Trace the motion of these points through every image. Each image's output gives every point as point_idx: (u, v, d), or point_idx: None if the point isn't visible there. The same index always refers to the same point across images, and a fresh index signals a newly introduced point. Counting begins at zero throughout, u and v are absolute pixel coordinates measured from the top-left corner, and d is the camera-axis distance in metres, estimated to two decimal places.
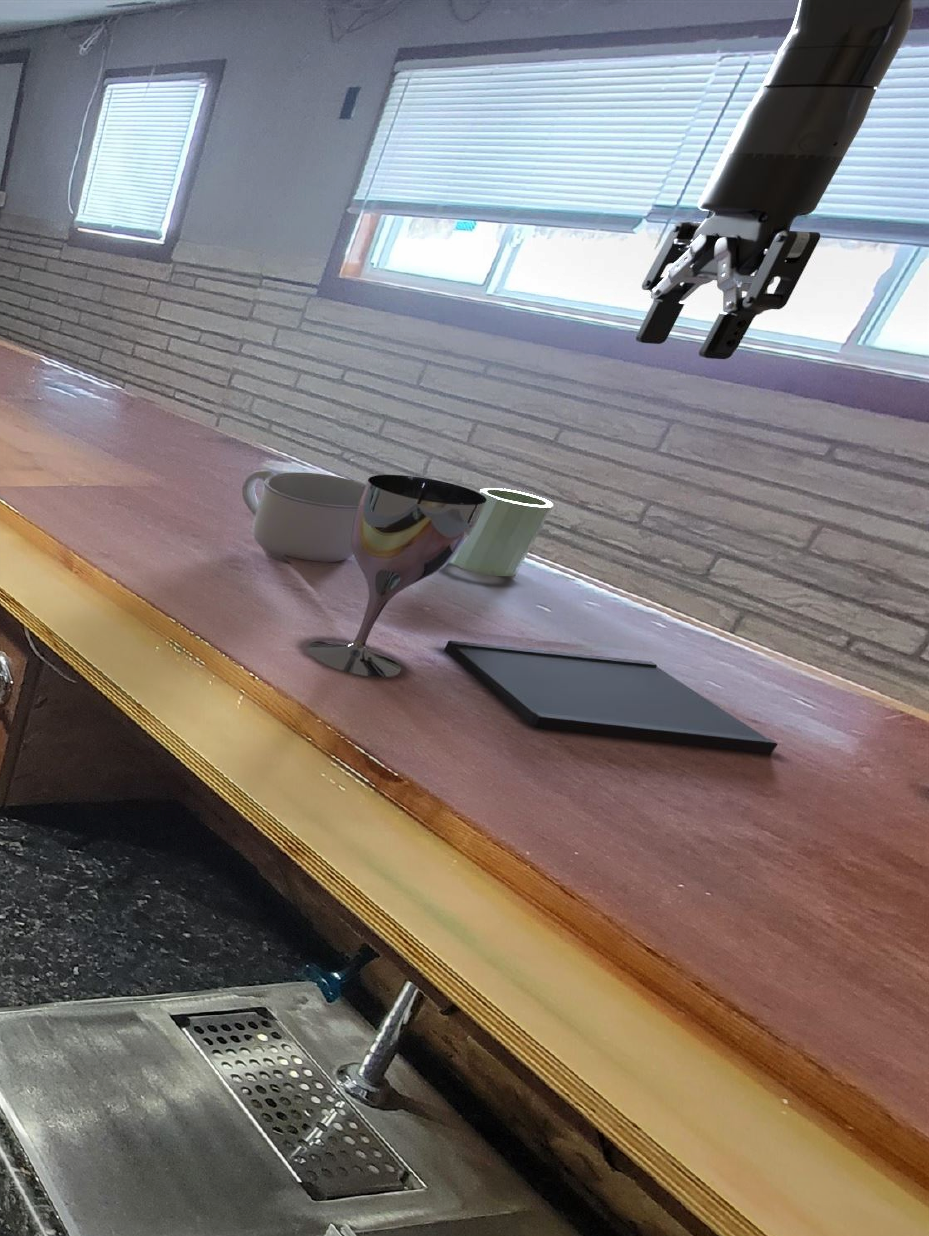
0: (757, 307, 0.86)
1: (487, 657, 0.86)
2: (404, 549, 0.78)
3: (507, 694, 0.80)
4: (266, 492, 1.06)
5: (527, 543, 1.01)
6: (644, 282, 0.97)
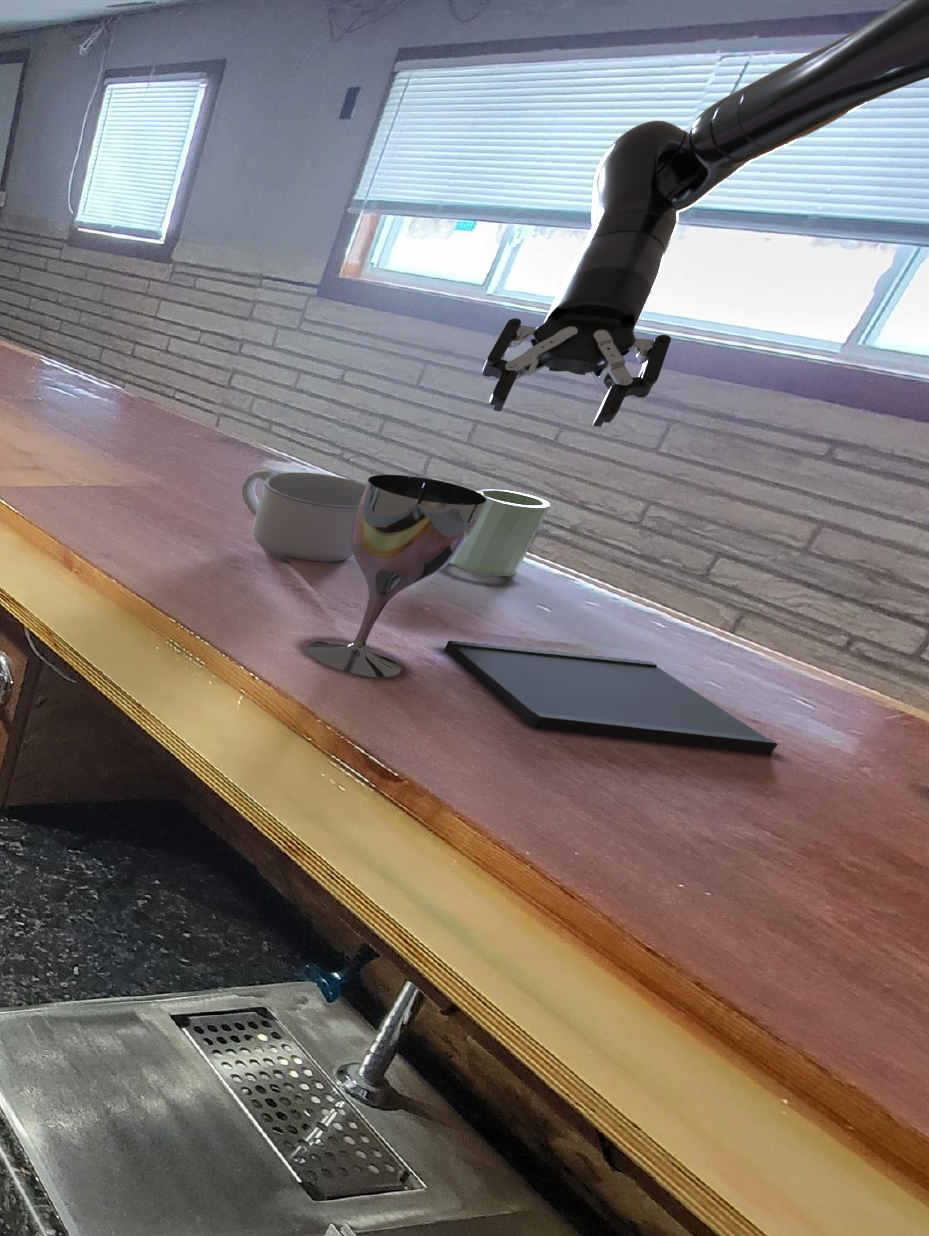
0: (485, 371, 1.11)
1: (487, 657, 0.86)
2: (404, 549, 0.78)
3: (507, 694, 0.80)
4: (266, 492, 1.06)
5: (525, 544, 1.01)
6: None
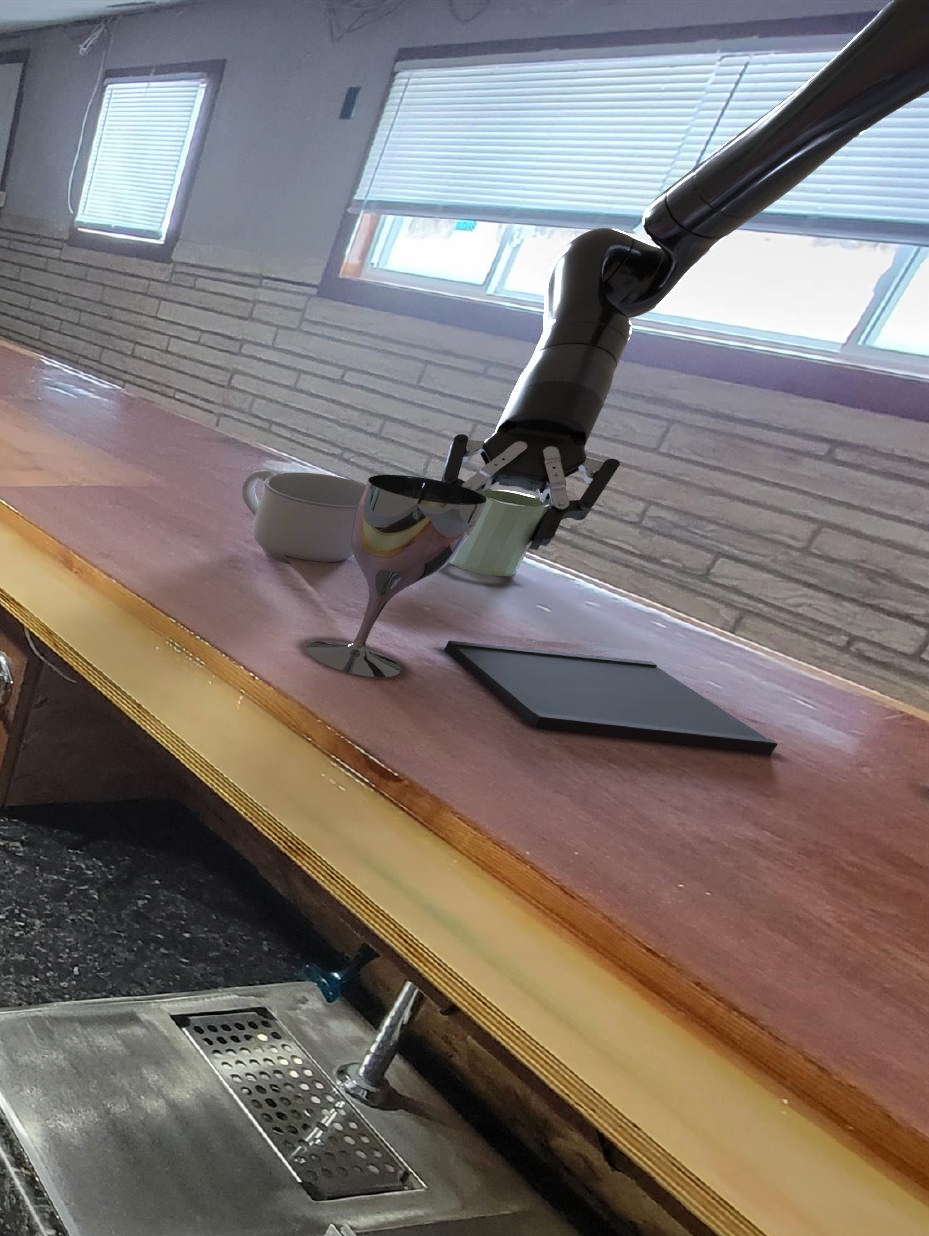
0: None
1: (487, 657, 0.86)
2: (404, 549, 0.78)
3: (507, 694, 0.80)
4: (266, 492, 1.06)
5: (524, 543, 1.01)
6: None
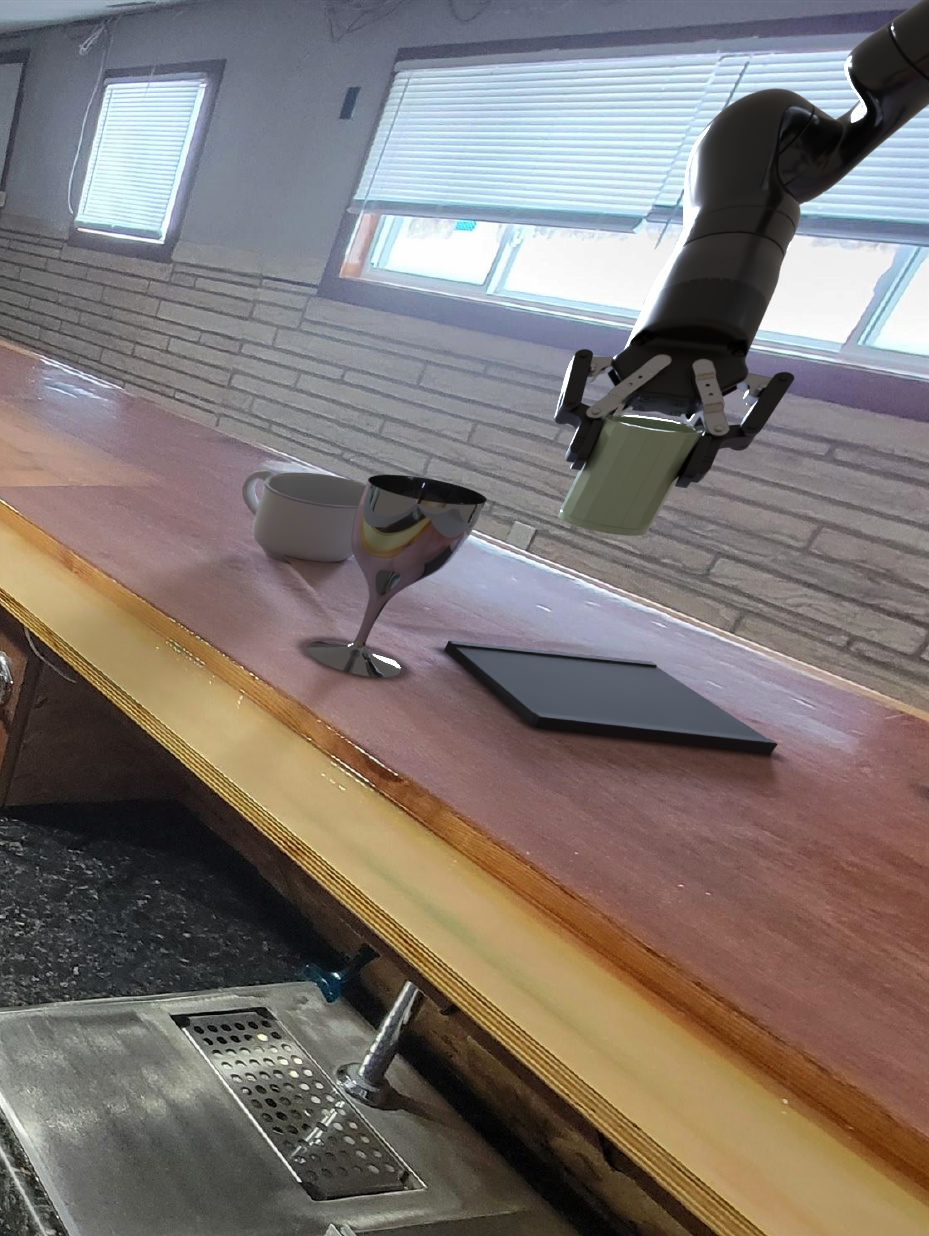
0: (559, 418, 0.87)
1: (487, 657, 0.86)
2: (404, 549, 0.78)
3: (507, 694, 0.80)
4: (266, 492, 1.06)
5: (670, 480, 0.81)
6: None
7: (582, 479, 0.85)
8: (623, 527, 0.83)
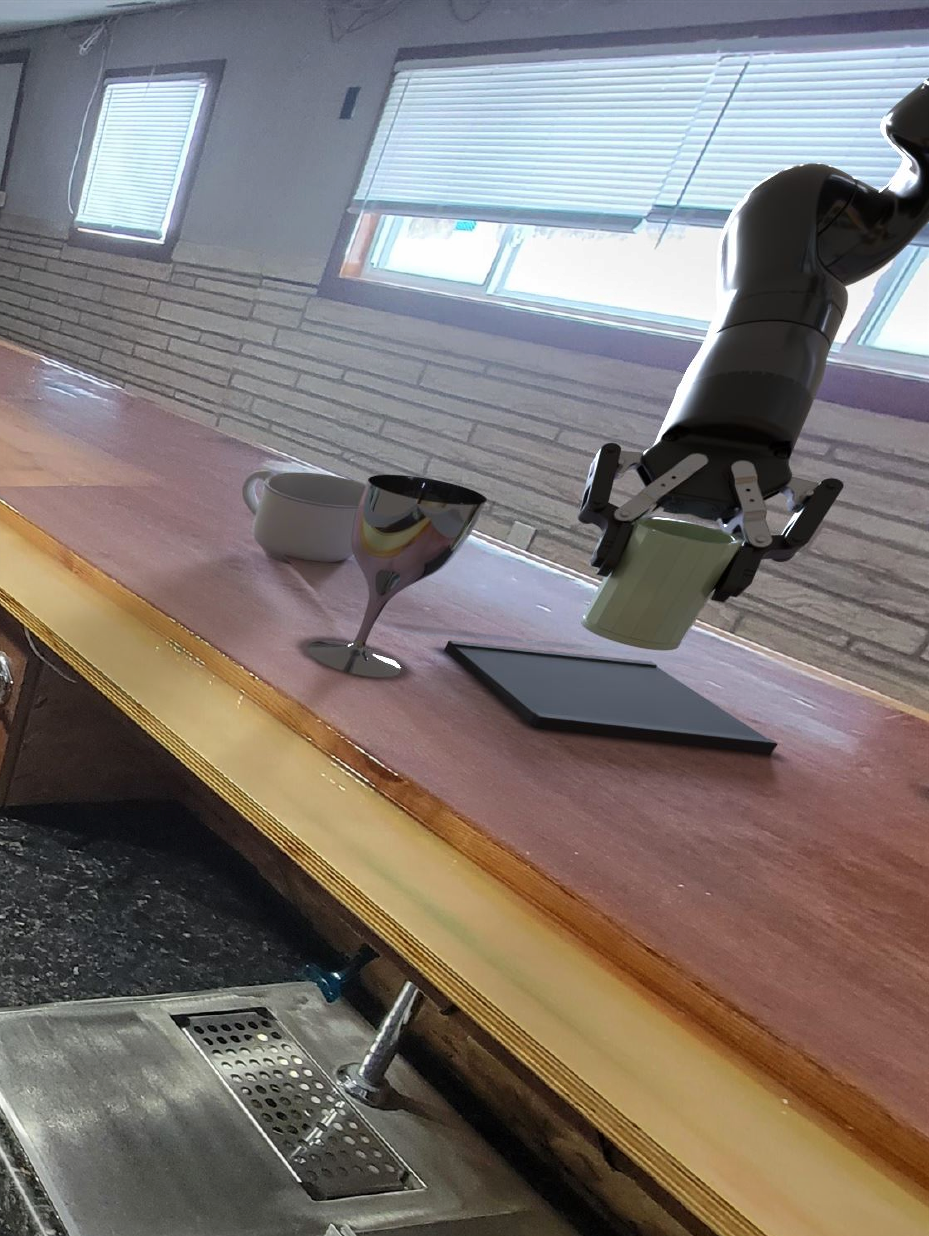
0: (584, 517, 0.79)
1: (487, 657, 0.86)
2: (404, 549, 0.78)
3: (507, 694, 0.80)
4: (266, 492, 1.06)
5: (706, 593, 0.74)
6: None
7: (609, 586, 0.78)
8: (654, 641, 0.76)
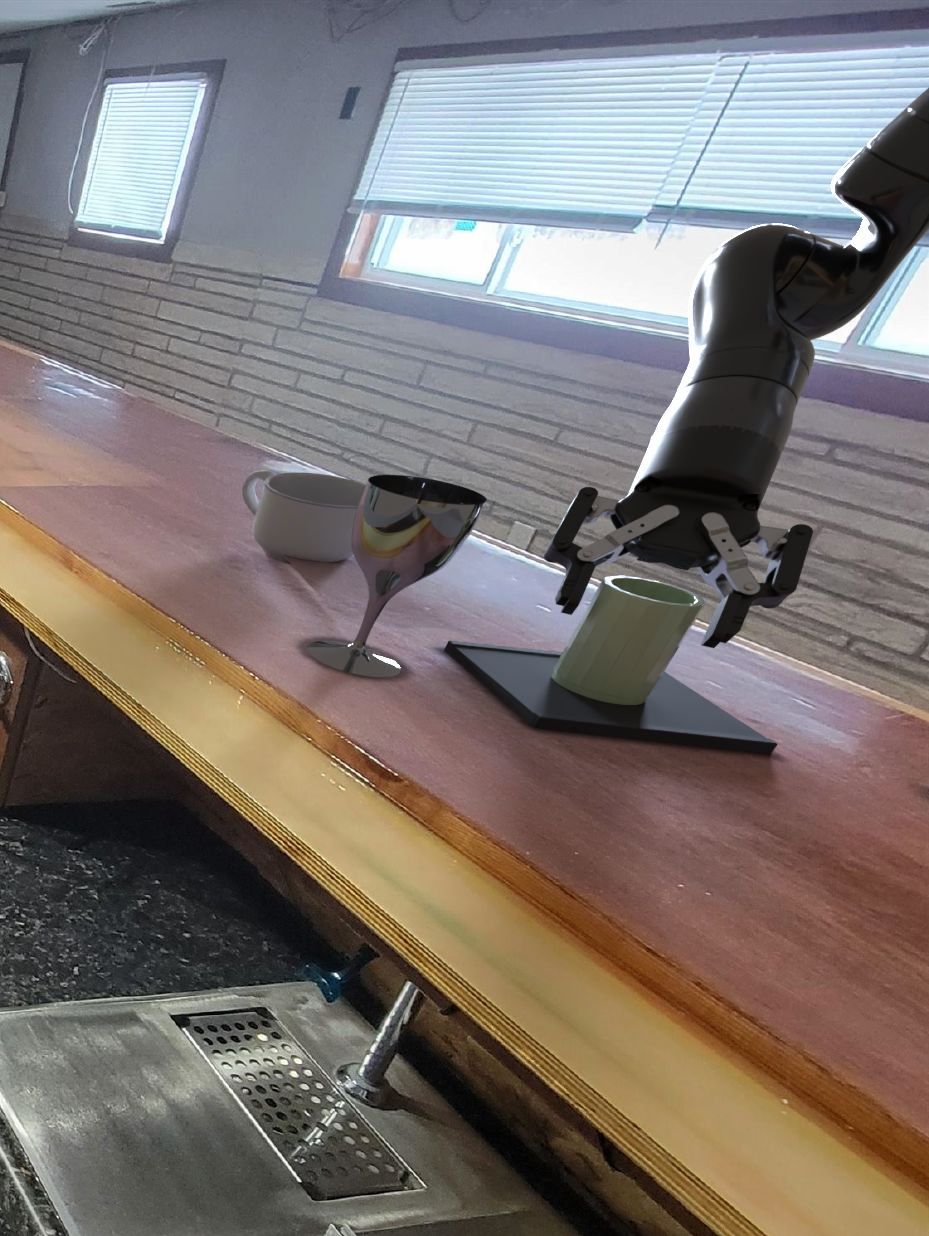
0: (549, 556, 0.82)
1: (487, 657, 0.86)
2: (404, 549, 0.78)
3: (507, 694, 0.80)
4: (266, 492, 1.06)
5: (670, 651, 0.77)
6: None
7: (577, 642, 0.80)
8: (620, 696, 0.79)
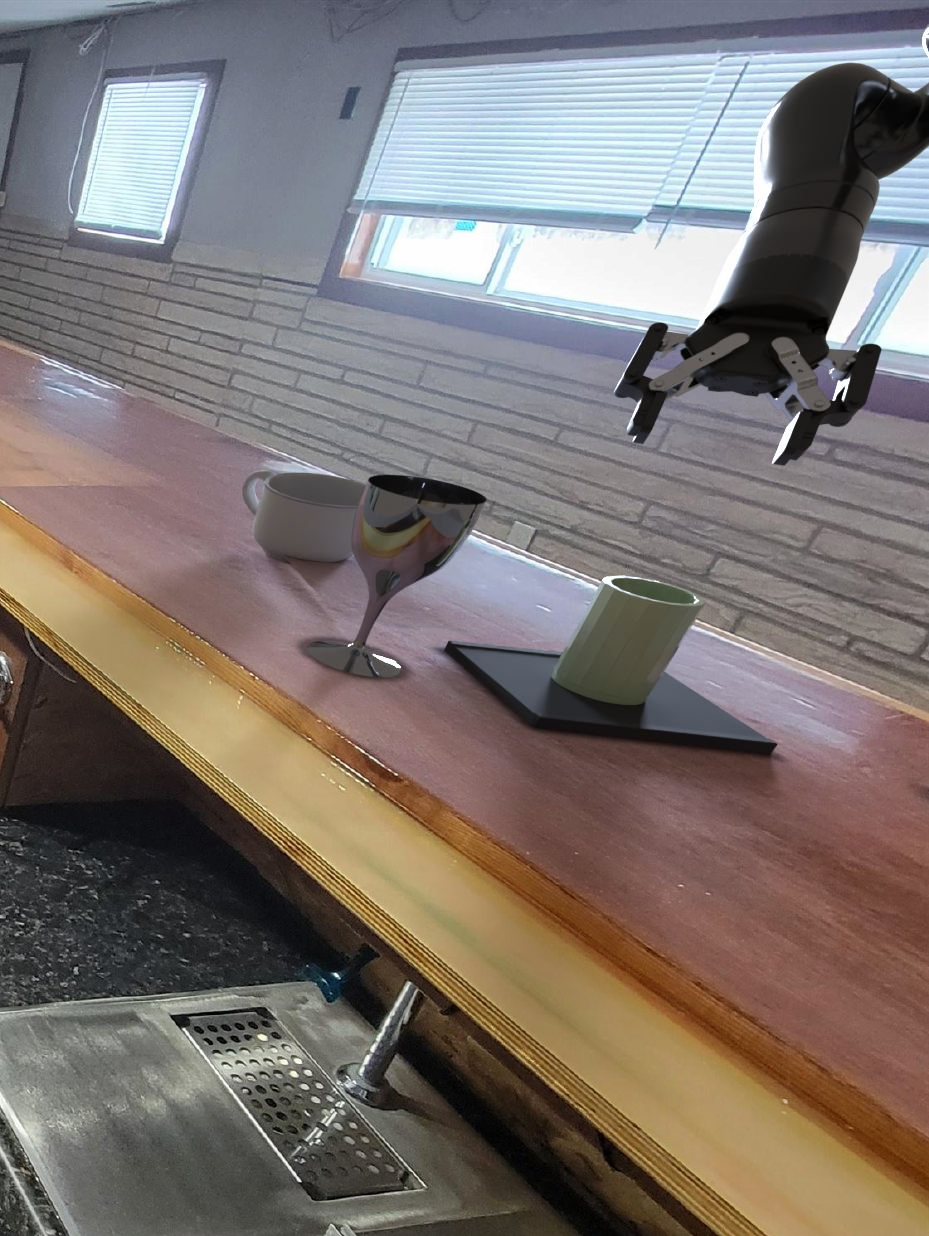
0: (620, 391, 0.85)
1: (487, 657, 0.86)
2: (404, 549, 0.78)
3: (507, 694, 0.80)
4: (266, 492, 1.06)
5: (670, 651, 0.77)
6: None
7: (577, 642, 0.80)
8: (620, 696, 0.79)
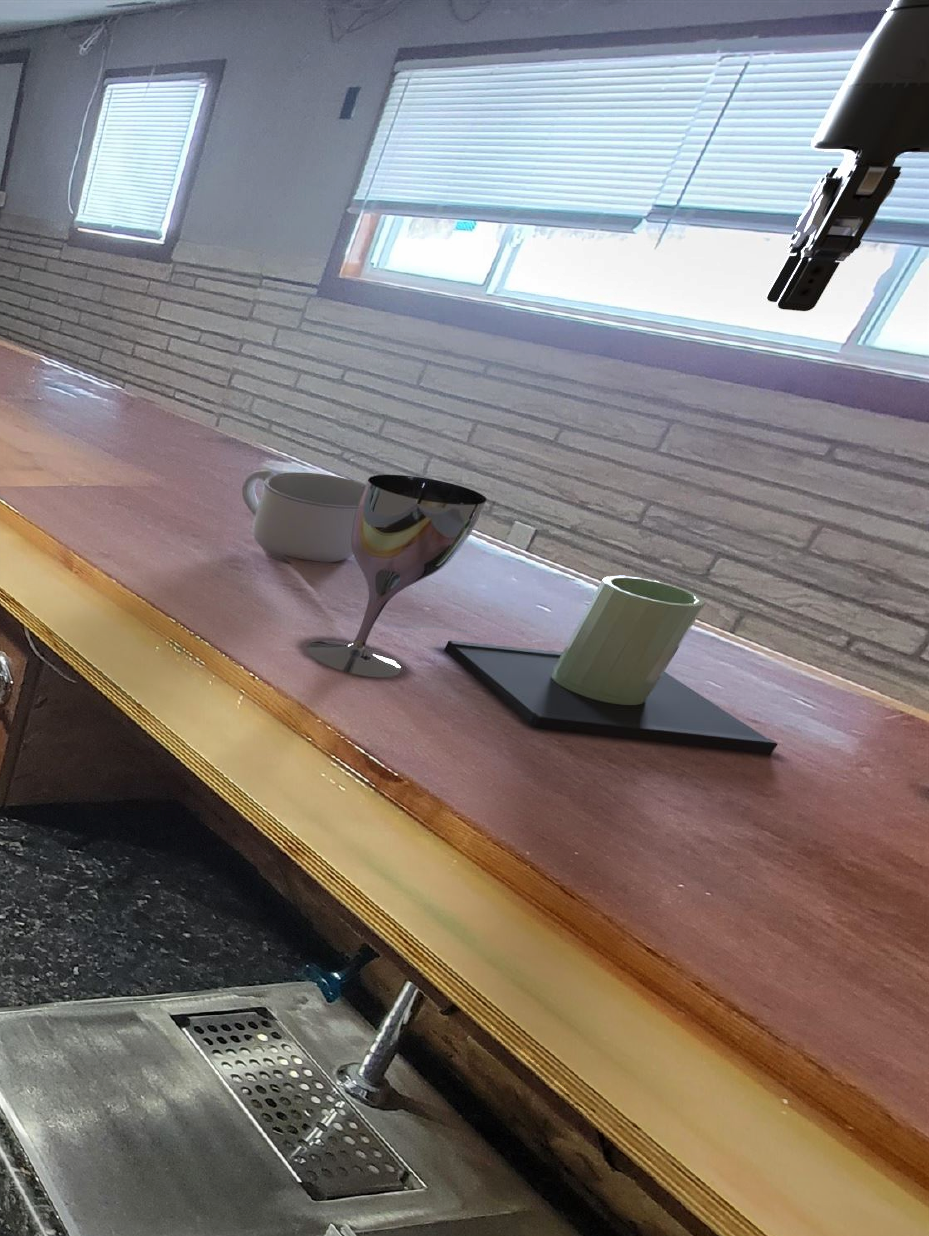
0: (822, 250, 0.79)
1: (487, 657, 0.86)
2: (404, 549, 0.78)
3: (507, 694, 0.80)
4: (266, 492, 1.06)
5: (670, 651, 0.77)
6: (791, 236, 0.88)
7: (577, 642, 0.80)
8: (620, 696, 0.79)
